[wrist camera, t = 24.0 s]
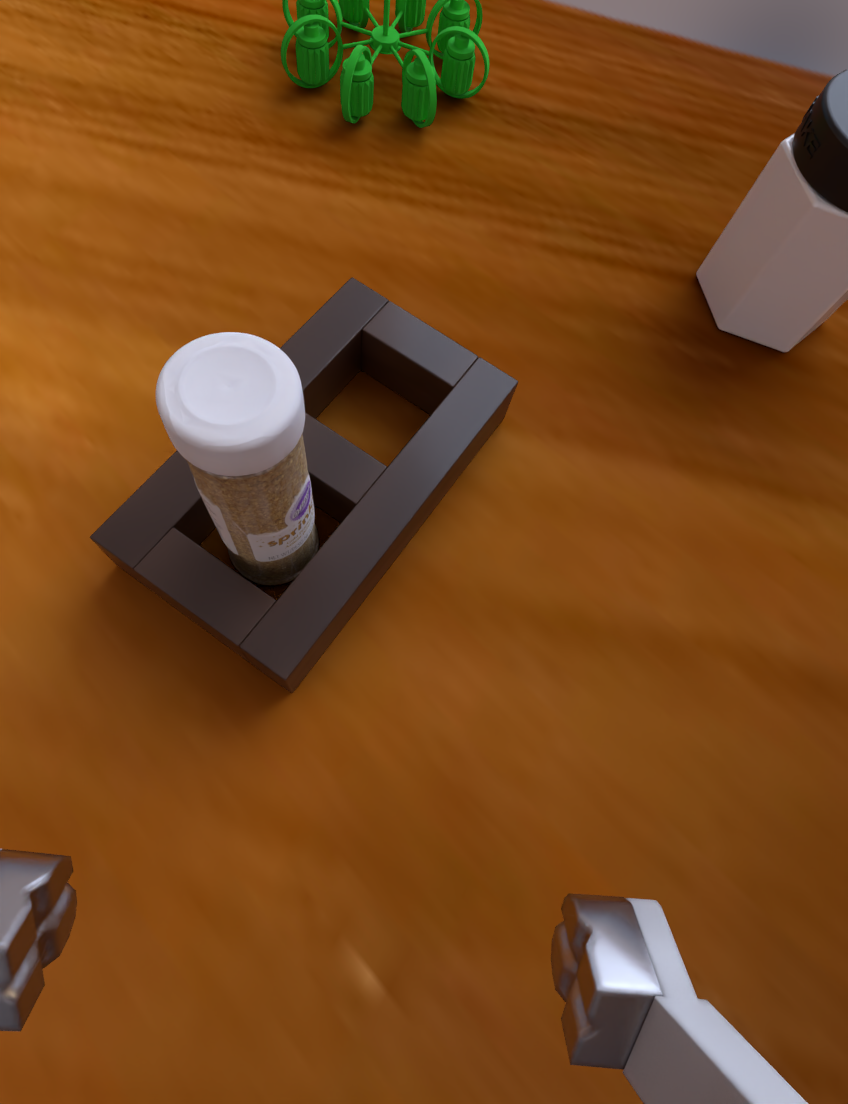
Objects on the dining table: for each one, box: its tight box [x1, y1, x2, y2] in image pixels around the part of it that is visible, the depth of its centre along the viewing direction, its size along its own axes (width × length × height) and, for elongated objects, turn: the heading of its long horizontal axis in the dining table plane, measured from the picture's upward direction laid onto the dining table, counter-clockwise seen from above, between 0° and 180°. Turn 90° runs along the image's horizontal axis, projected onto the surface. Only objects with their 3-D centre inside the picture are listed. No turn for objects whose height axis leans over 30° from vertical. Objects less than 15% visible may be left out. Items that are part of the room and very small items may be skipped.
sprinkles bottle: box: [156, 332, 319, 585], centre depth 26 cm, size 5×5×14 cm
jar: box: [696, 70, 848, 352], centre depth 37 cm, size 9×8×12 cm
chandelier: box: [281, 0, 489, 128], centre depth 43 cm, size 15×15×7 cm
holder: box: [90, 278, 518, 693], centre depth 33 cm, size 11×19×4 cm, turn 146°
